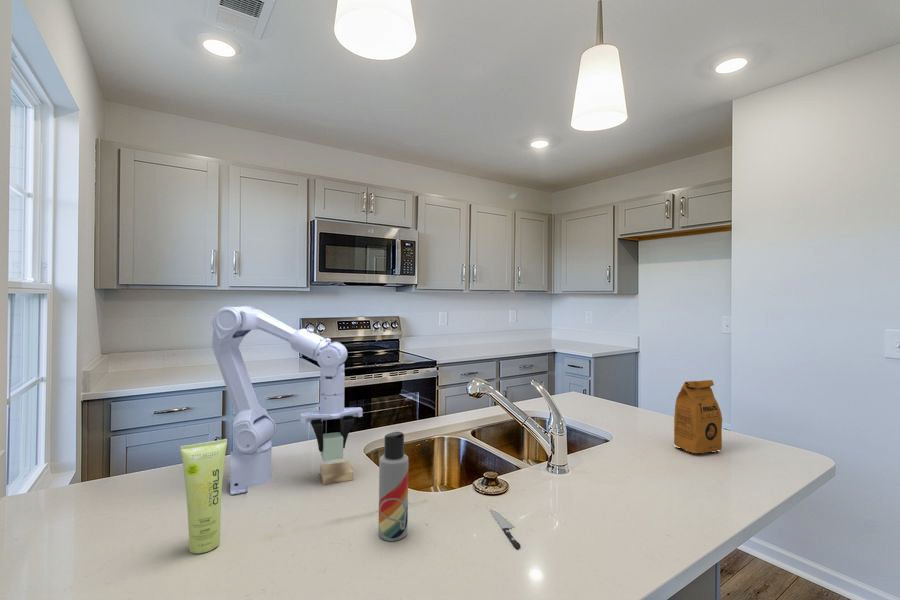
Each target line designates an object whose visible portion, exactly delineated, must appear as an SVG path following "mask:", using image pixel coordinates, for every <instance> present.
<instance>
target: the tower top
mask: <svg viewBox="0 0 900 600" xmlns="http://www.w3.org/2000/svg"><path fill="white" fill-rule="evenodd" d="M319 469H320V471H319V474H321V477H322V479H321V482H322V483H323V485H324V484H329V483H334V484H337V483H336V482H340V483H344V482H343V481H345V482H350V481H349V480H351V481H354V470H353V469H352V466H351V464H350V462H349V461H342V462H333V463H327V464H320V466H319ZM321 477H320V478H321ZM329 485H330V484H329Z"/></svg>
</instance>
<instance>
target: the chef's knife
mask: <svg viewBox="0 0 900 600" xmlns="http://www.w3.org/2000/svg"><path fill="white" fill-rule="evenodd" d="M490 512H491V513H490ZM489 513H490V514H491V516H492V515H493V516H492V517H493V518H495V519H494V520H495V522H496V521H497V522H496V524H497V525H498V524H499V525H498V526H499V528H500V527H501V528H500V529H501V530H502V532H503V531H504V532H503V533H504V534H505V536H506V538H509V539H508V540H509V541H510V543H511V544H512V546H513V547H514V548H515V549H516V550H519V549H520V548H521V544H520V543H519V542H518V541H517V540H516V539H515V538H514V536H512V533H511V530H513V529H512V528H514V529H516V527H515V525H513V523H512V522H511V521H510V520H509V521H510V522H511V523H510V522H509V521H507V519H508V518H507V519H505V518H504V517H502V515H500V513H498V512H496V511H494V510H492V509H491V508H490V511H489ZM509 529H510V530H509Z"/></svg>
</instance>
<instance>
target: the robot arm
mask: <svg viewBox="0 0 900 600" xmlns="http://www.w3.org/2000/svg"><path fill="white" fill-rule="evenodd" d="M210 321H211V325H212V328H213V332H212V340H211V347H212V350H213V354H214V356H215V360H216V362H217V365H218V367H219V370H220V374H221V376H222V379H223V382H224V384H225V388H226V390H227V393H228V395H229V398H230V401H231V404H232V407H233V410H234V413H235V418H234V421H233V423H232V428H233V443H234V446H235V448H236V449H237V450H233V451H230V452H229V453H230V454H229V455H230V462H229V464H230V466H229V467H230V468H229V470H230V471H229V475H228V484H229V487H230V488H229V492H230V493H229V494H230V496H234V495H238V494H239V495H240V494H244V493H248V487H254V486H259V485H262V484H266V483H267V482H269V481H270V480H271V479H272V446H273V444H272V439H273V438H274V436H275V434H276V432H277V425H276V422H275V421H274V420H273V419H272V418H271V417H270V415H269V413H268V410H267V409H266V408H264V407H262V406H261V405H260V403H259V401H258V398H257V395H256V392H255V390H254V387H253V383H252V382H251V378H250V374H249V372H248V370H247V367H246V364H245V361H244V359H243V356H242V352H241V349H240V347H239V346H240V345H241V343H242V341H243V339H244V338H245V336H247V335H248V334H249V333H250V332H251V331H252V330H253V331H255V330H260V331H262V332H265V333H267V334H268V335H269V334H270V335H272V336H274V337H276V338H279V339H281V340H283V341H286V342H289V344H290V347H291V349H292V350H293V351H294V352H297V353H298V354H302V355H304V356H305V357H307V358H309V359H311V360H313V361H316V362H317V364H318V365H319V367H320V375H319V378H320V379H319V383H320V384H319V388H320V389H319V409H316V410H312V411H307V412H302V413H300V414H299V416H300V417H299V422H300V424H306V423H310V424H311V427H312V429H313V431H314V434H315V438H316V442H317V447H318V451H319V453H321V452H323V434H324V429H325V428H324V427H325V426H324V424H323V421H328V420H337V419H339V422H340V423H339V426H340V433H341V435H342V436H343V449H345V448H346V443H347V439H348V436H349V433H350V431H351V429H352V428H353V425H354V423H355V419H354V417H356V418H361V417H363V411H364V410H363V408H362V407H359V406H358V407H345V379H346V378H345V377H346V375H345V374H346V373H345V362H346V360H347V359H348V356H349V355H348V350H347V348H346V346H345V345H344V344H342V343H341V342H340V341H333V342H331V341H332V339H331V338H330V337H327V338H325V337H323V336H321V335H318V334H316V333H315V331H314V329H313V328H307V329H306V328H301V329H295V328H293V327H291V326H289V325H288V324H285V323H284V322H282V321H280V320H279V319H277V318H275V317H273V316H271V315H269V314H267V313H266V312H264V311H263V310H261V309H258V308H255V307H253V306H250V305H241V306H223V307H221V308H220V309H218V310H217V312H216V313H215V315H213V317H212V319H211V320H210Z"/></svg>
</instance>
